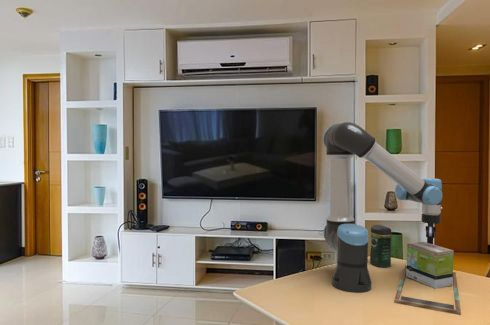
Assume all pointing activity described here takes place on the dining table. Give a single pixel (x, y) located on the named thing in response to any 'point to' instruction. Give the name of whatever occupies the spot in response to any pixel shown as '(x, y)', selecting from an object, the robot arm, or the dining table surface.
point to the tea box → (430, 264)
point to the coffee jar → (380, 246)
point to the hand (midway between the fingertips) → (429, 267)
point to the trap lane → (426, 303)
